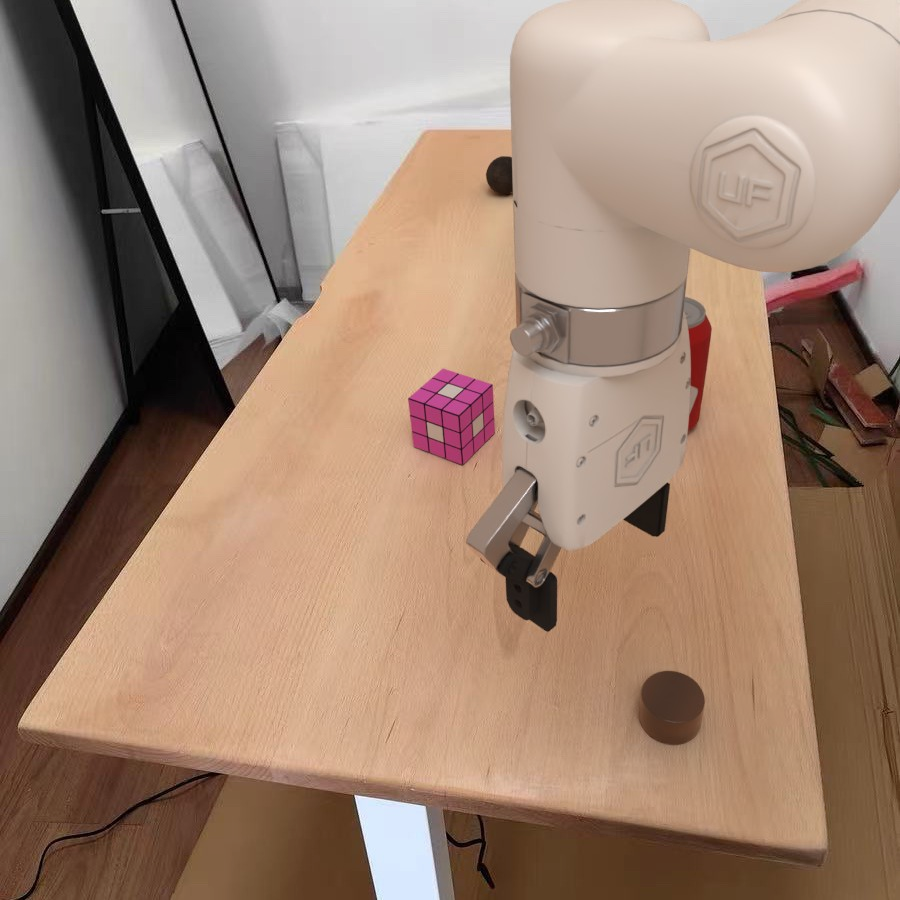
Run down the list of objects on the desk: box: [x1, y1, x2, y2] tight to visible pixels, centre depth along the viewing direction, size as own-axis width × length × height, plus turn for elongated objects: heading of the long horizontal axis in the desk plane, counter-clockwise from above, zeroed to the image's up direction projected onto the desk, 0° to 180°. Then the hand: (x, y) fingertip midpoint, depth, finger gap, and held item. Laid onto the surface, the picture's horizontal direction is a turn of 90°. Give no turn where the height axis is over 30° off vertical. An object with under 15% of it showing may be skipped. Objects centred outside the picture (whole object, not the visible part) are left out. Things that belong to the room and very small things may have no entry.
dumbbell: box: [485, 155, 513, 195], centre depth 131 cm, size 20×5×5 cm, turn 141°
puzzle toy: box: [407, 368, 496, 466], centre depth 81 cm, size 6×6×6 cm
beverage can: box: [683, 296, 713, 432], centre depth 79 cm, size 7×7×12 cm
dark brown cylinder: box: [638, 670, 706, 746], centre depth 57 cm, size 4×4×2 cm
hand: (588, 567), depth 50 cm, fingers open, 9 cm apart
